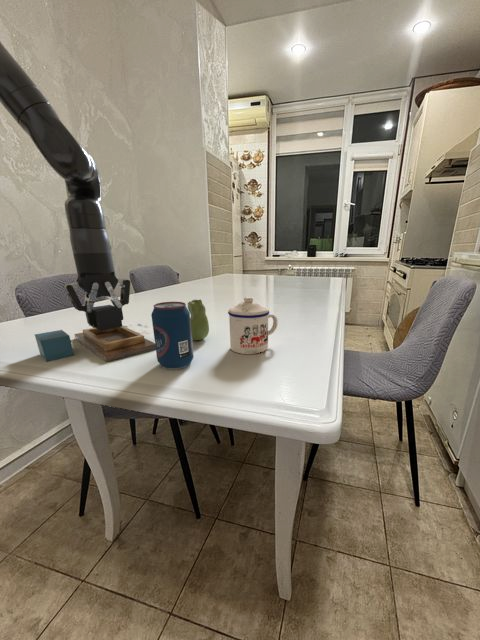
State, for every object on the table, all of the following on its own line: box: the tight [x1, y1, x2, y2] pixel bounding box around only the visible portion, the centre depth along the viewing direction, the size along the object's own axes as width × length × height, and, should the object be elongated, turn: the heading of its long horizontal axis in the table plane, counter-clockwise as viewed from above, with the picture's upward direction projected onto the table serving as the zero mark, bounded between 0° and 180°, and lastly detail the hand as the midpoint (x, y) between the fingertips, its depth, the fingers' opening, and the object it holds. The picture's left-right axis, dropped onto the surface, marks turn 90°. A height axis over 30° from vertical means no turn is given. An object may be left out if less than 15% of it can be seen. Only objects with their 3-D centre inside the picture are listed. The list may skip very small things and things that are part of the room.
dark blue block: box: [93, 304, 123, 331], centre depth 70 cm, size 5×6×4 cm
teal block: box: [34, 329, 75, 362], centre depth 62 cm, size 5×6×4 cm
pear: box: [187, 299, 210, 341], centre depth 71 cm, size 6×5×10 cm
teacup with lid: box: [227, 296, 279, 355], centre depth 65 cm, size 12×9×12 cm
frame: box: [74, 325, 156, 363], centre depth 69 cm, size 11×22×3 cm, turn 46°
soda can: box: [150, 301, 194, 371], centre depth 56 cm, size 7×7×12 cm
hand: (106, 324), depth 70 cm, fingers closed on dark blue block, 5 cm apart
